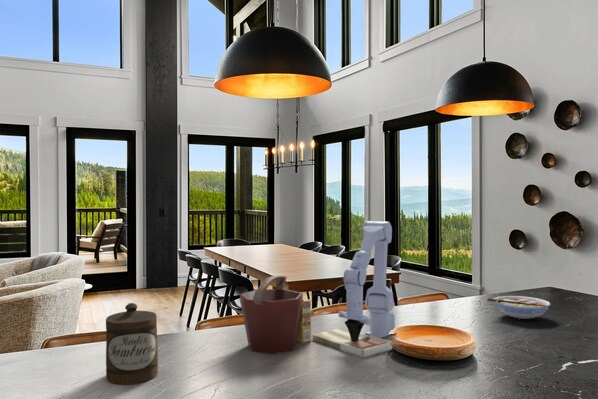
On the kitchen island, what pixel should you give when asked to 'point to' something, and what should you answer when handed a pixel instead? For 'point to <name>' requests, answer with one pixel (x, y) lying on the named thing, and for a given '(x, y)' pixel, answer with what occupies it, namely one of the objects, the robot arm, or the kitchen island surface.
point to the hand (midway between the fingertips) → (354, 341)
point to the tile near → (376, 342)
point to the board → (337, 337)
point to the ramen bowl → (521, 306)
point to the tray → (367, 351)
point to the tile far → (361, 345)
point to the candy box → (304, 322)
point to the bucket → (271, 316)
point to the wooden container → (131, 346)
